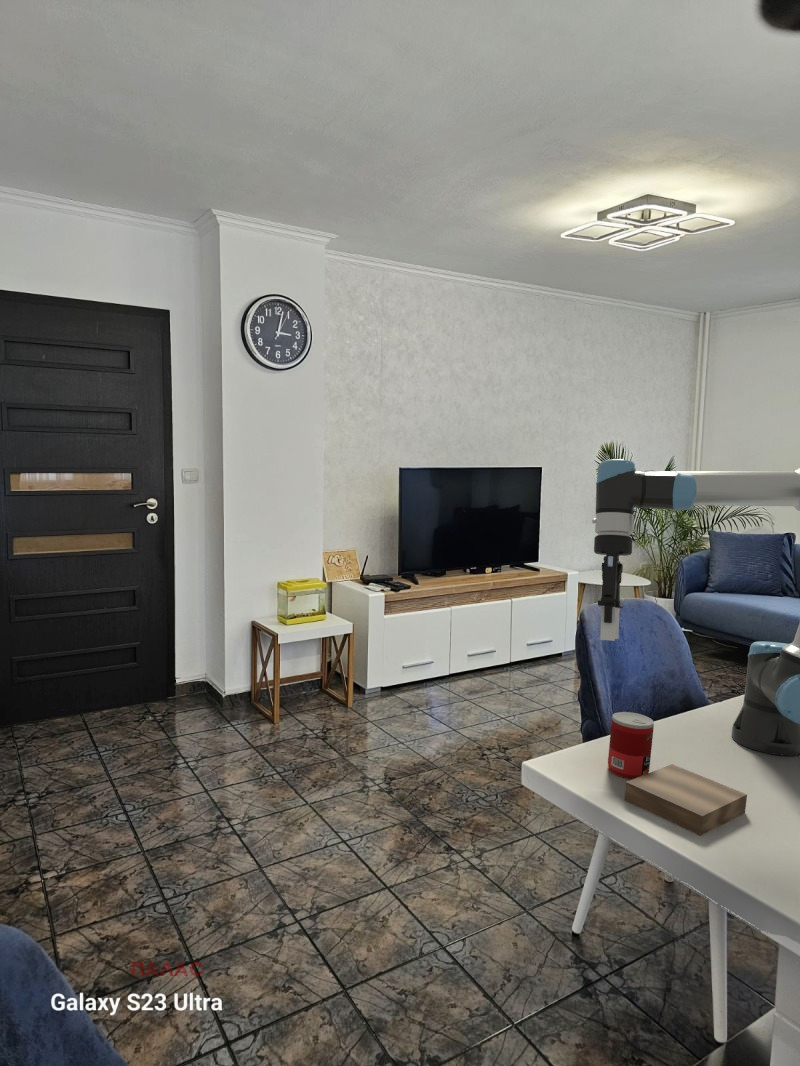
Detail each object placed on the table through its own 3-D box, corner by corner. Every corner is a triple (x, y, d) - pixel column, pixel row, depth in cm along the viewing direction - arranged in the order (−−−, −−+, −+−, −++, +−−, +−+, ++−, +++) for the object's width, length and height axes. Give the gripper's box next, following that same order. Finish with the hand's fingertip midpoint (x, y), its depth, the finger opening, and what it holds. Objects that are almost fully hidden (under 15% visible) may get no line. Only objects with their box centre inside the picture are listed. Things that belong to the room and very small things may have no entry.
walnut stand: (670, 781, 147) (671, 764, 146) (745, 812, 135) (747, 794, 135) (624, 800, 137) (625, 781, 137) (700, 836, 126) (702, 816, 125)
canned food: (651, 782, 146) (656, 727, 144) (608, 776, 147) (613, 722, 146) (646, 766, 153) (651, 714, 152) (606, 761, 155) (610, 709, 153)
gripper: (599, 540, 167) (595, 636, 165) (589, 527, 144) (584, 639, 142) (634, 542, 165) (631, 639, 163) (630, 528, 141) (626, 642, 139)
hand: (609, 639), depth 152 cm, fingers open, 13 cm apart
